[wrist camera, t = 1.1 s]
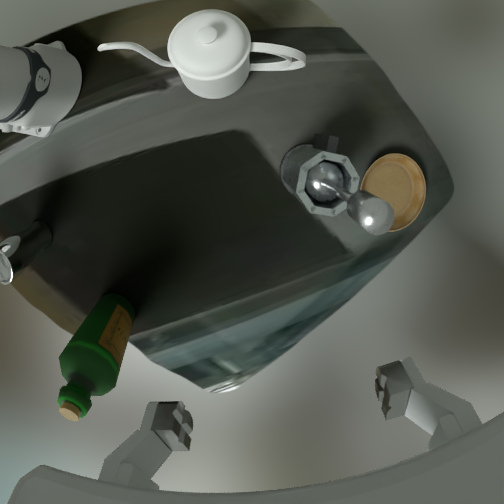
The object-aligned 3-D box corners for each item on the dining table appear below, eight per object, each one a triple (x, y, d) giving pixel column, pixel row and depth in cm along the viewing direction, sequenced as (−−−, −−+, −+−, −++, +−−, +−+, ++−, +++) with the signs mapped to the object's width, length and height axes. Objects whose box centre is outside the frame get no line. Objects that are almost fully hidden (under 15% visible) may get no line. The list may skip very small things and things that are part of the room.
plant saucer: (385, 135, 47) (392, 136, 44) (430, 185, 51) (437, 188, 49) (338, 197, 51) (344, 200, 49) (388, 240, 55) (394, 245, 53)
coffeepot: (140, 41, 37) (96, 4, 20) (291, 45, 39) (326, 6, 22) (134, 100, 41) (83, 89, 24) (286, 105, 44) (320, 93, 27)
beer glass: (33, 250, 50) (-7, 284, 36) (26, 219, 47) (-18, 248, 33) (57, 250, 50) (18, 286, 37) (50, 217, 48) (6, 247, 34)
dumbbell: (301, 196, 40) (344, 242, 25) (308, 158, 38) (359, 182, 23) (337, 202, 41) (394, 249, 26) (344, 166, 39) (410, 194, 23)
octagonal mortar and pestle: (275, 192, 50) (289, 212, 39) (286, 128, 45) (304, 129, 34) (326, 200, 51) (351, 222, 40) (338, 139, 46) (369, 144, 35)
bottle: (131, 336, 60) (96, 442, 34) (89, 314, 57) (37, 412, 31) (148, 302, 57) (108, 415, 31) (101, 278, 54) (38, 379, 28)
